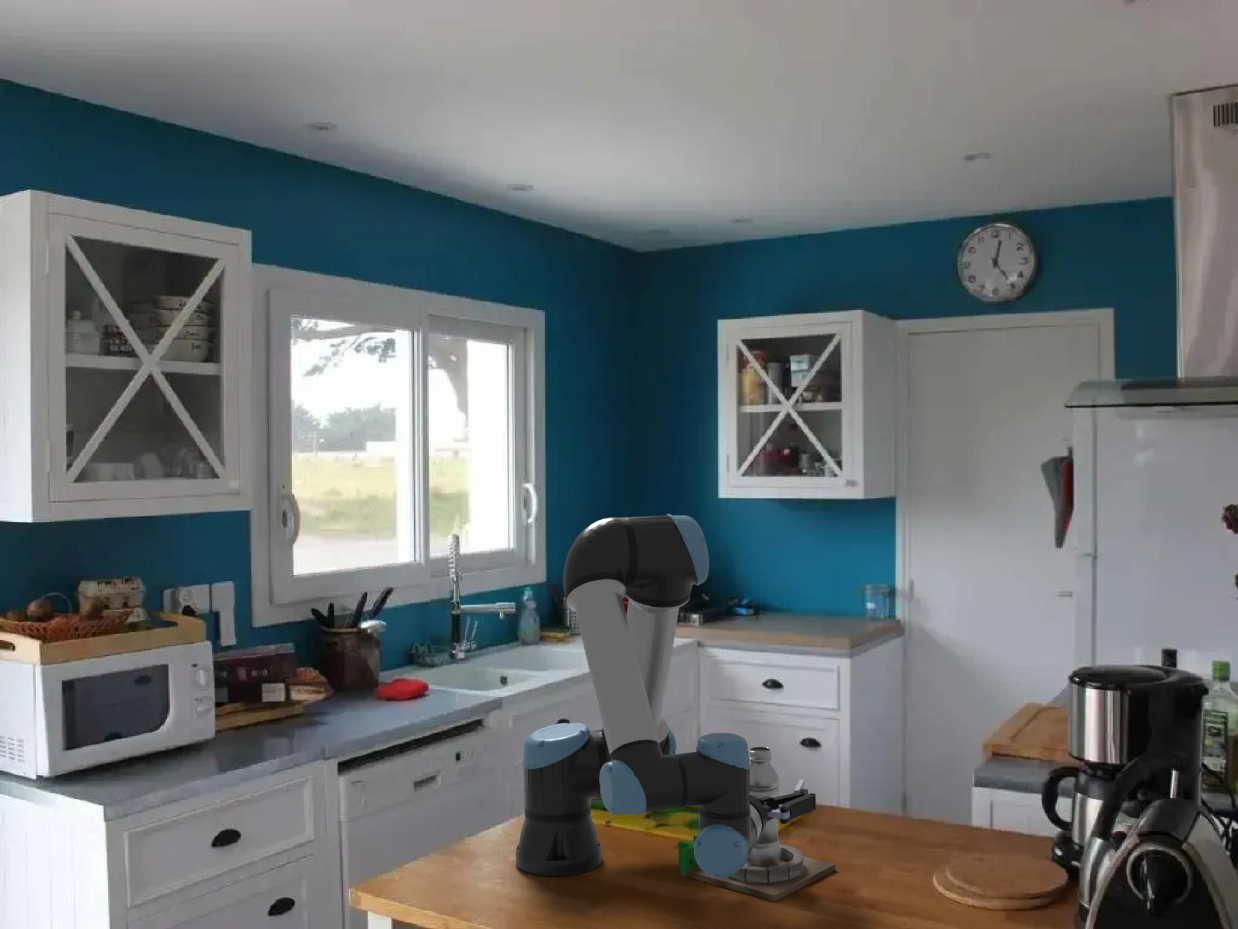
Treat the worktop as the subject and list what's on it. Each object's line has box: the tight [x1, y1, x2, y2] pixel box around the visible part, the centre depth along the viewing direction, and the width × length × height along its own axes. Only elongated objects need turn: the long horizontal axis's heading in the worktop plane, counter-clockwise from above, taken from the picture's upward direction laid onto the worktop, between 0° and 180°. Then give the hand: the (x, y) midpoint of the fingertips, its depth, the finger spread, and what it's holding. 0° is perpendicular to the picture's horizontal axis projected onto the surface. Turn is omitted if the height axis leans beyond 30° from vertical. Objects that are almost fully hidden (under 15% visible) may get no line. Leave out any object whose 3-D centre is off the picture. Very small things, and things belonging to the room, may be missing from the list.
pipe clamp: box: [677, 834, 698, 877], centre depth 208 cm, size 11×4×5 cm, turn 140°
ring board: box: [686, 843, 836, 902], centre depth 203 cm, size 18×18×3 cm
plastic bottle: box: [746, 746, 781, 867], centre depth 203 cm, size 6×7×20 cm
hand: (762, 785), depth 206 cm, fingers open, 13 cm apart
